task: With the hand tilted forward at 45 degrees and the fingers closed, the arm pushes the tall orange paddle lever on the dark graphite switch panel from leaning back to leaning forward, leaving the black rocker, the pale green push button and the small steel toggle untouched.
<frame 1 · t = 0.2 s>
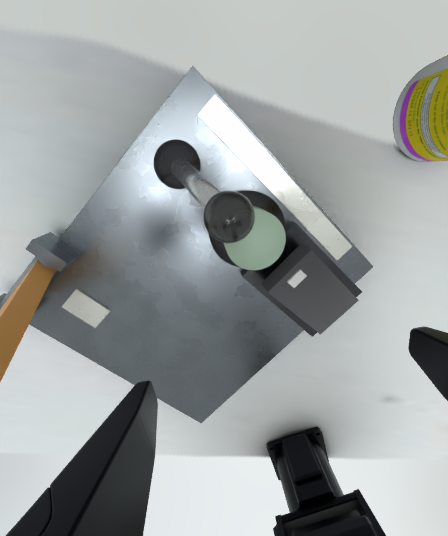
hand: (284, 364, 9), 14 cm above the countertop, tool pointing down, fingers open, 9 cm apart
toggle: (205, 193, 14), point 6 cm above the countertop, hinge at -30.0°
yellow bottle: (427, 115, 20), on the countertop
button: (251, 237, 17), point 4 cm above the countertop, slide at 0.0 cm
panel: (197, 280, 22), on the countertop
rocker: (312, 292, 19), point 4 cm above the countertop, hinge at -12.0°
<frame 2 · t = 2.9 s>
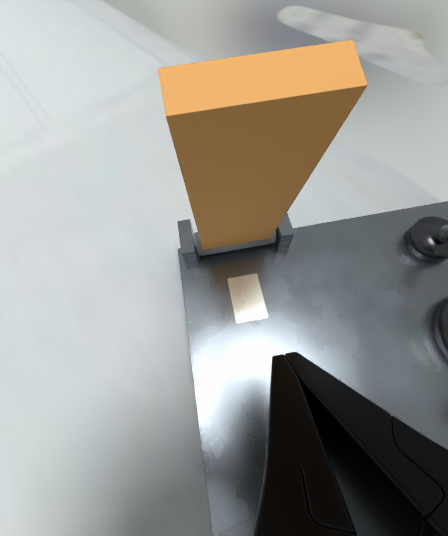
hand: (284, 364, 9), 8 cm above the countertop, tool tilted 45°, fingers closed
paddle: (240, 202, 12), point 8 cm above the countertop, hinge at -15.0°
panel: (376, 369, 16), on the countertop
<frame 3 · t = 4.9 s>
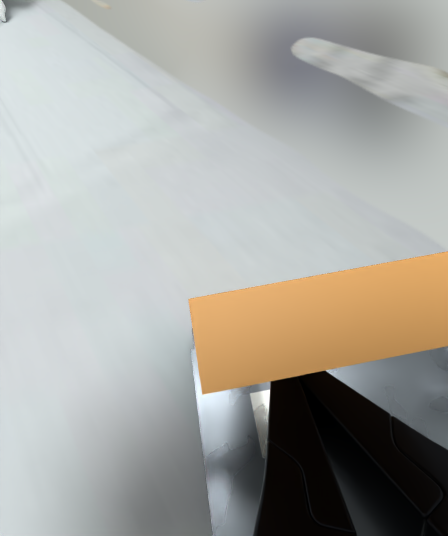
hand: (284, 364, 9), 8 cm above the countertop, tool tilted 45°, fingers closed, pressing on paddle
paddle: (275, 337, 10), point 8 cm above the countertop, hinge at -7.7°, touching gripper
panel: (431, 512, 13), on the countertop
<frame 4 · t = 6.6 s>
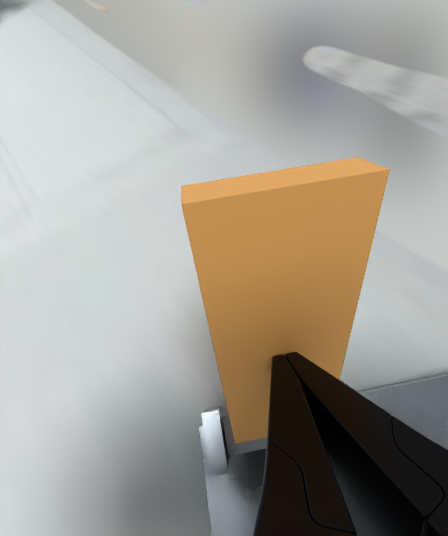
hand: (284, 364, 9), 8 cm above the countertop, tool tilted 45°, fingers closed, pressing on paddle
paddle: (278, 354, 10), point 7 cm above the countertop, hinge at 30.1°, touching gripper
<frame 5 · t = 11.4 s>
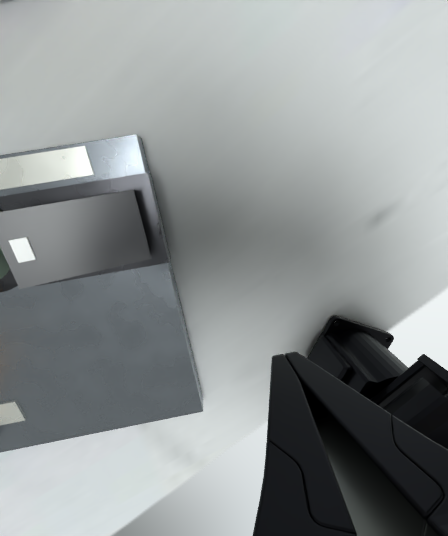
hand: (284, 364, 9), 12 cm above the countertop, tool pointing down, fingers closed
panel: (48, 314, 20), on the countertop
rocker: (79, 237, 15), point 4 cm above the countertop, hinge at -12.0°
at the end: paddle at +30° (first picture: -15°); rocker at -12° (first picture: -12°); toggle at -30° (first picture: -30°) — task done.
